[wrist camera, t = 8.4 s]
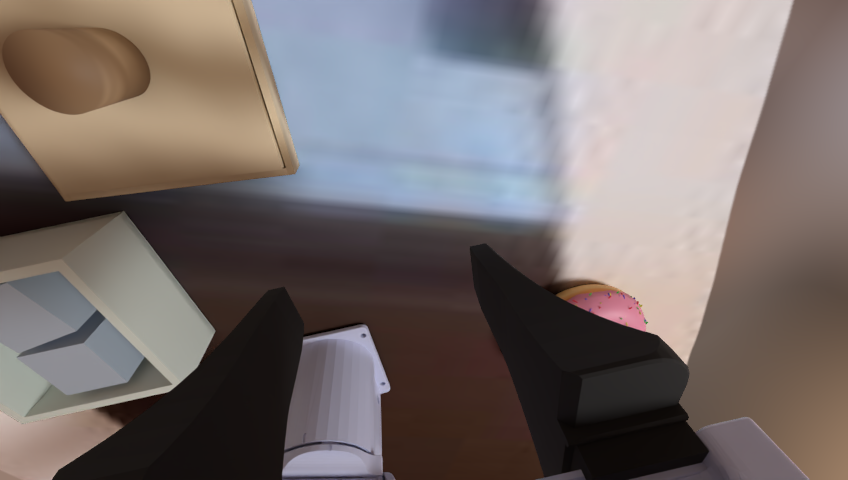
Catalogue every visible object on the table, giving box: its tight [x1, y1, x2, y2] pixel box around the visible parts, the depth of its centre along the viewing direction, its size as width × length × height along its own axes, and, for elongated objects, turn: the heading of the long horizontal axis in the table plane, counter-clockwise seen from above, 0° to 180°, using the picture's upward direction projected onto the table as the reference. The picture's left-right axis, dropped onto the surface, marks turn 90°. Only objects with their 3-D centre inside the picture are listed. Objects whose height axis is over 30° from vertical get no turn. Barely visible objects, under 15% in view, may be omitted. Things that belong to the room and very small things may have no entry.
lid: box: [0, 0, 299, 201], centre depth 14 cm, size 12×12×5 cm
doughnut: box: [556, 284, 648, 331], centre depth 30 cm, size 11×11×4 cm
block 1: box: [0, 271, 97, 353], centre depth 20 cm, size 4×4×4 cm
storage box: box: [0, 211, 215, 424], centre depth 21 cm, size 11×11×5 cm
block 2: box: [16, 310, 145, 395], centre depth 23 cm, size 4×4×4 cm
